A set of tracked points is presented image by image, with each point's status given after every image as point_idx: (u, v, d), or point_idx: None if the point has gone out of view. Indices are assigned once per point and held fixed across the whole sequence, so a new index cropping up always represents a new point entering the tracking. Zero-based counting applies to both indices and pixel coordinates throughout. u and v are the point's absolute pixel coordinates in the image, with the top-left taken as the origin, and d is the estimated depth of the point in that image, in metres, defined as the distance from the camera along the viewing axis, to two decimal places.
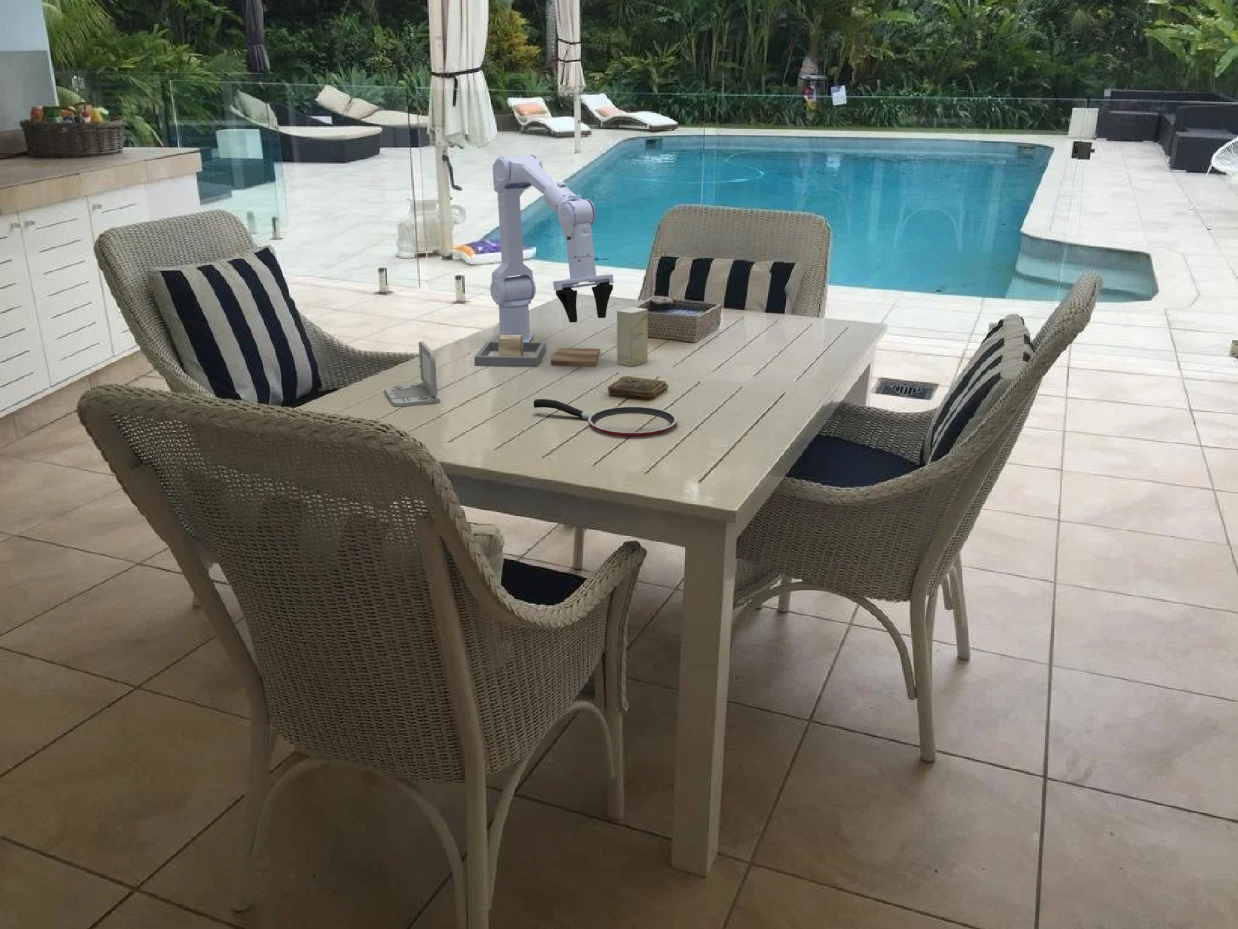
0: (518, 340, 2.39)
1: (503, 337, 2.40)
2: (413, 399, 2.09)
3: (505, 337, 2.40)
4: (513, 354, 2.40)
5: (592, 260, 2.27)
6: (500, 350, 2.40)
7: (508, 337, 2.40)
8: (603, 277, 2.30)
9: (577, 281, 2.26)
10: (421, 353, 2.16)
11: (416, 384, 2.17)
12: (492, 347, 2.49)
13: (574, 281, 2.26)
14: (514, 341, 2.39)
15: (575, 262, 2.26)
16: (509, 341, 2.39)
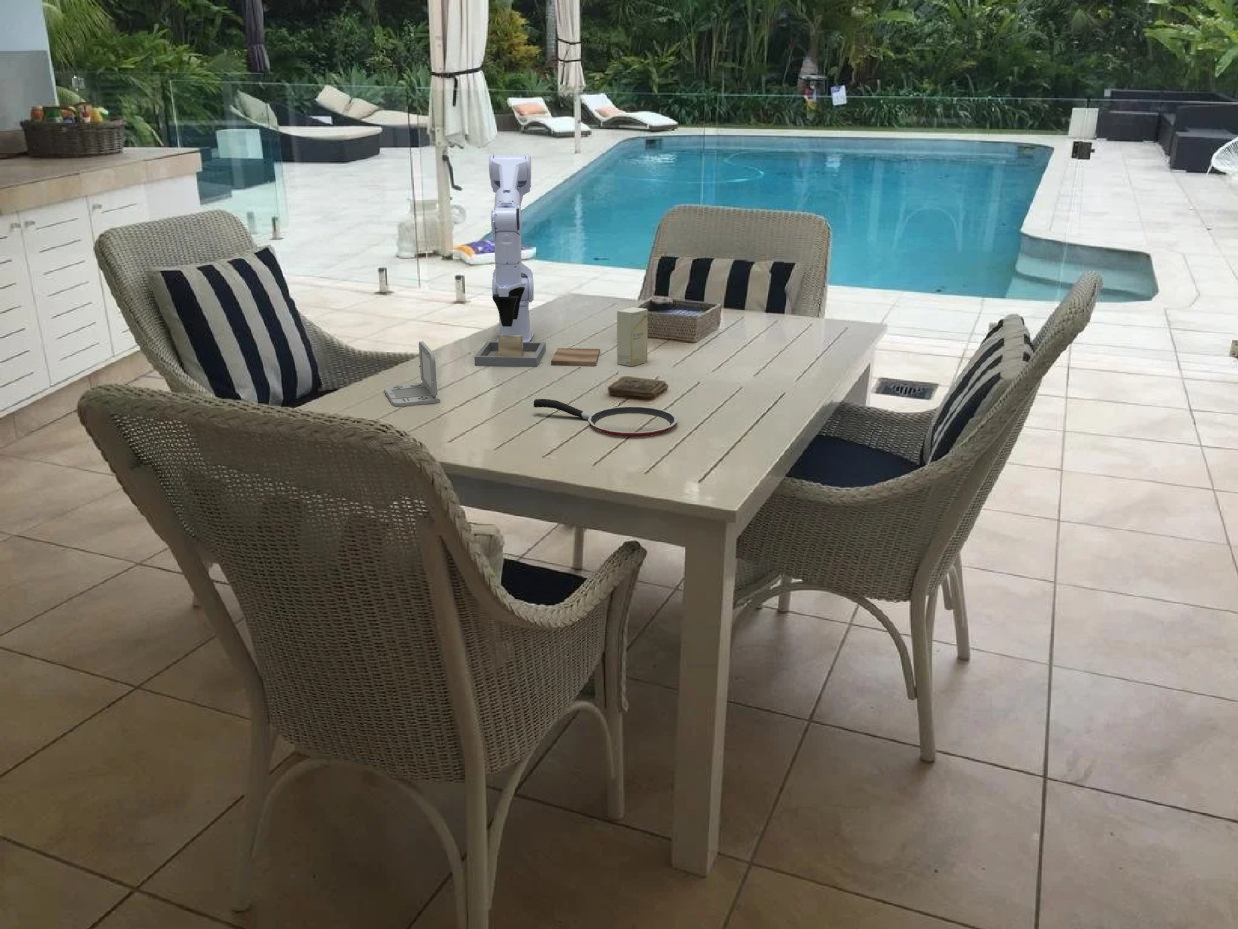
0: (518, 340, 2.39)
1: (503, 337, 2.40)
2: (413, 399, 2.09)
3: (505, 337, 2.40)
4: (513, 354, 2.40)
5: None
6: (500, 350, 2.40)
7: (508, 337, 2.40)
8: None
9: (515, 287, 2.34)
10: (421, 353, 2.16)
11: (416, 384, 2.17)
12: (492, 347, 2.49)
13: (514, 287, 2.33)
14: (514, 341, 2.39)
15: (512, 268, 2.33)
16: (509, 341, 2.39)
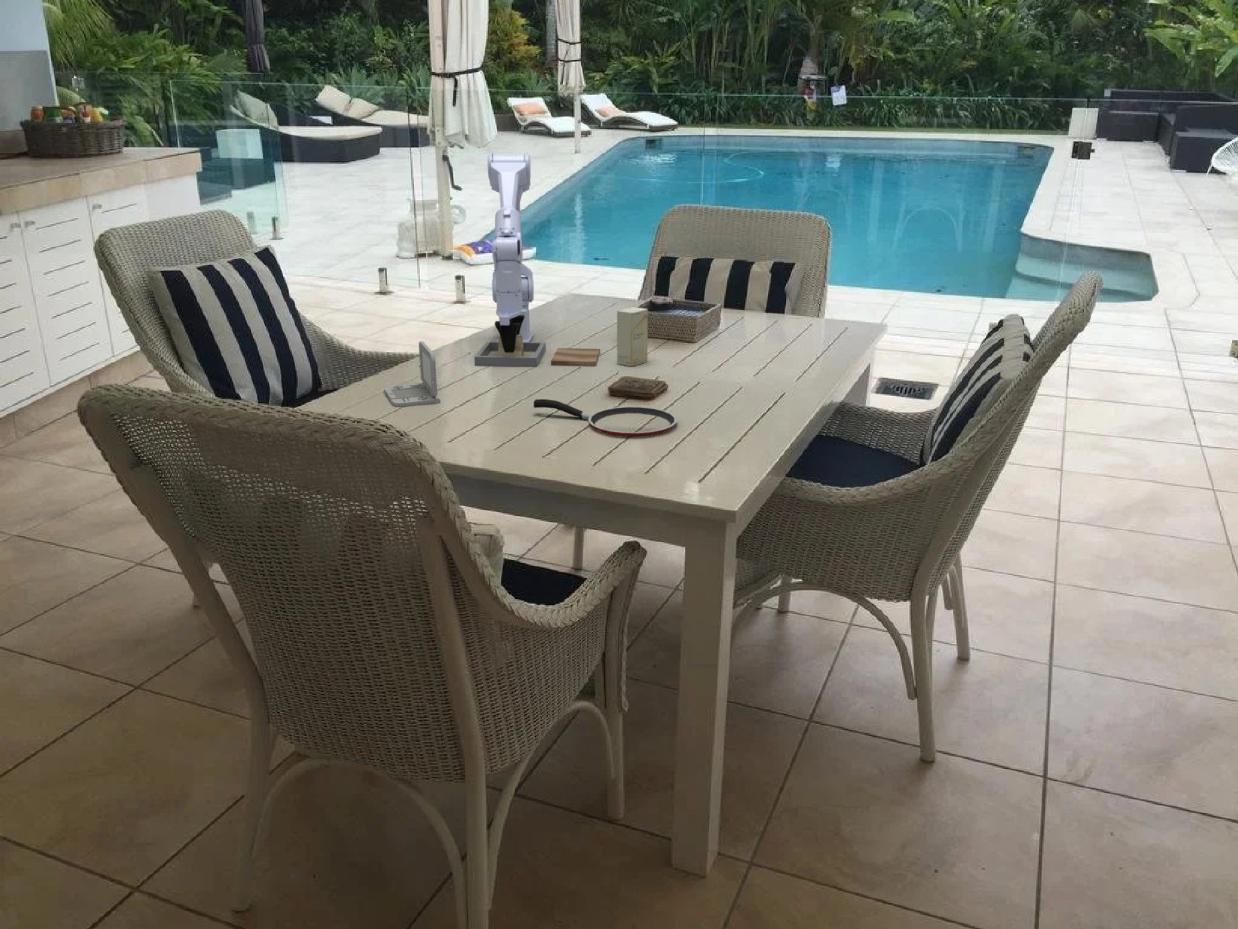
0: (518, 340, 2.39)
1: None
2: (413, 399, 2.09)
3: None
4: (513, 354, 2.40)
5: None
6: (500, 349, 2.40)
7: None
8: None
9: (516, 315, 2.36)
10: (421, 353, 2.16)
11: (416, 384, 2.17)
12: (492, 347, 2.49)
13: (515, 315, 2.35)
14: None
15: (513, 297, 2.35)
16: None
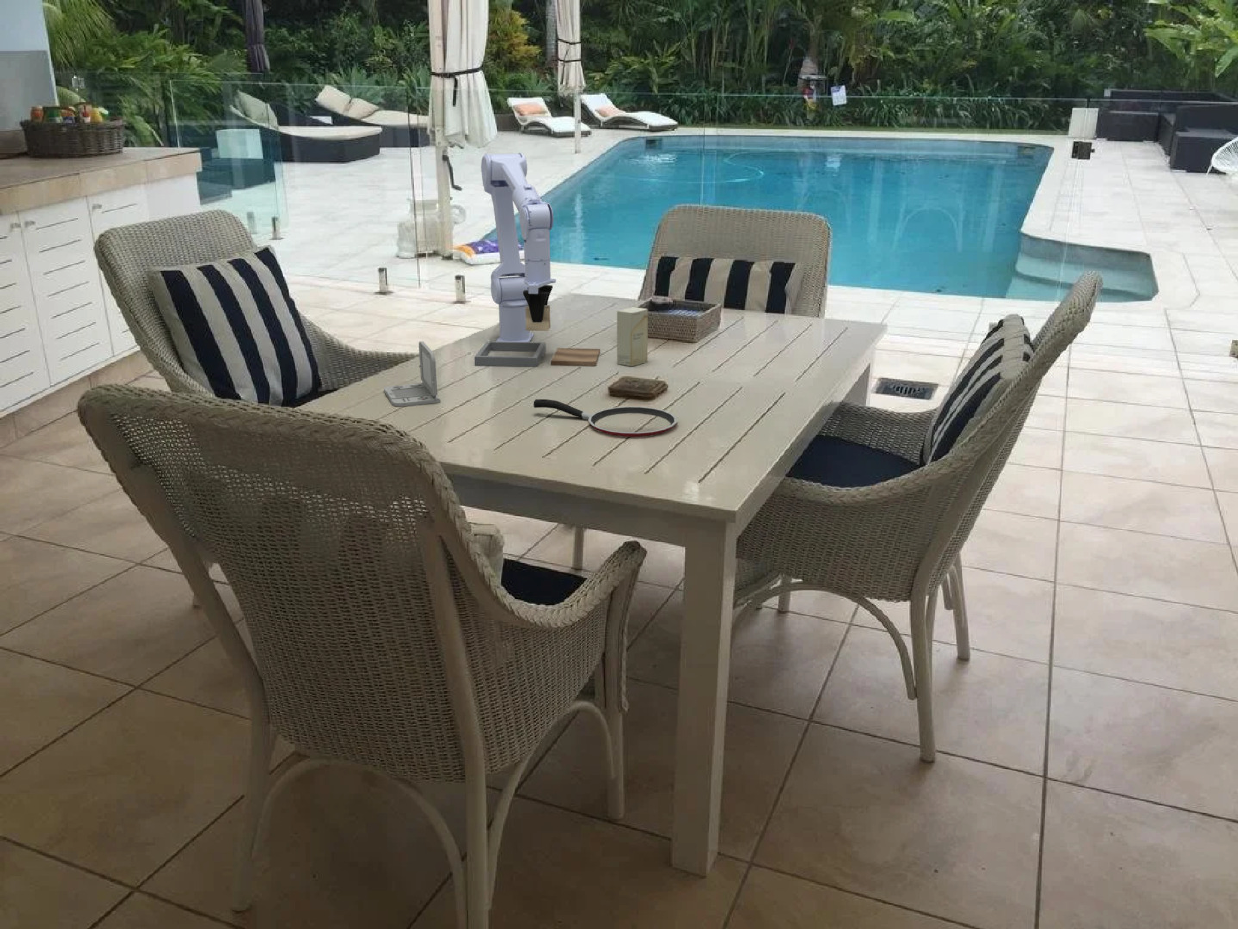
0: (545, 310, 2.36)
1: None
2: (413, 399, 2.09)
3: None
4: (540, 324, 2.37)
5: None
6: (527, 320, 2.37)
7: None
8: None
9: (545, 284, 2.33)
10: (421, 353, 2.16)
11: (416, 384, 2.17)
12: (492, 347, 2.49)
13: (543, 284, 2.32)
14: None
15: (541, 265, 2.32)
16: None
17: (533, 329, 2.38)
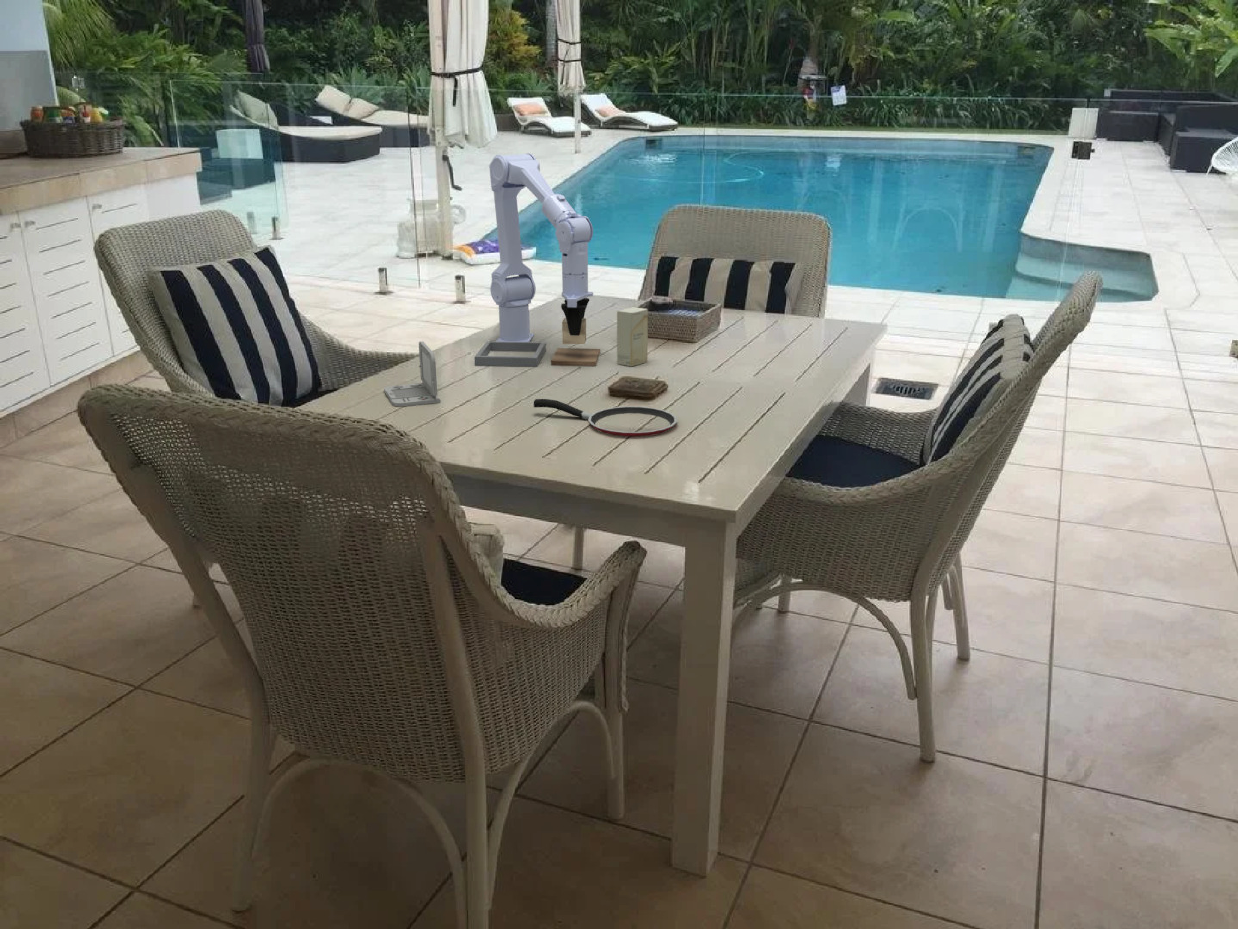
0: (582, 323, 2.37)
1: None
2: (413, 399, 2.09)
3: None
4: (577, 337, 2.38)
5: None
6: (564, 333, 2.38)
7: None
8: None
9: (583, 297, 2.34)
10: (421, 353, 2.16)
11: (416, 384, 2.17)
12: (492, 347, 2.49)
13: (582, 298, 2.33)
14: None
15: (579, 279, 2.33)
16: None
17: (570, 342, 2.38)
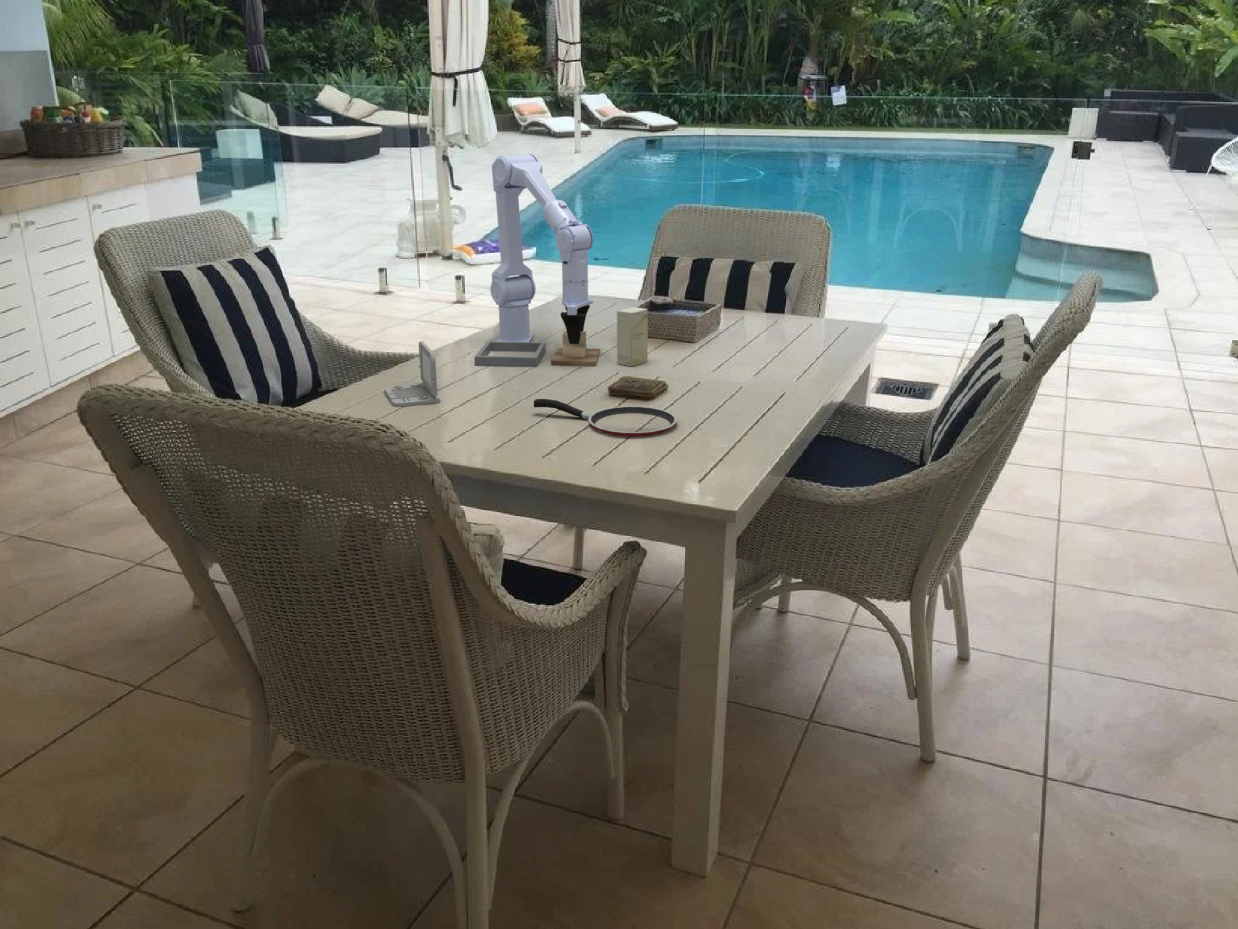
0: (582, 336, 2.38)
1: None
2: (413, 399, 2.09)
3: None
4: (577, 350, 2.39)
5: None
6: (564, 346, 2.39)
7: None
8: None
9: (583, 305, 2.34)
10: (421, 353, 2.16)
11: (416, 384, 2.17)
12: (492, 347, 2.49)
13: (582, 305, 2.34)
14: None
15: (579, 286, 2.33)
16: None
17: (570, 355, 2.39)
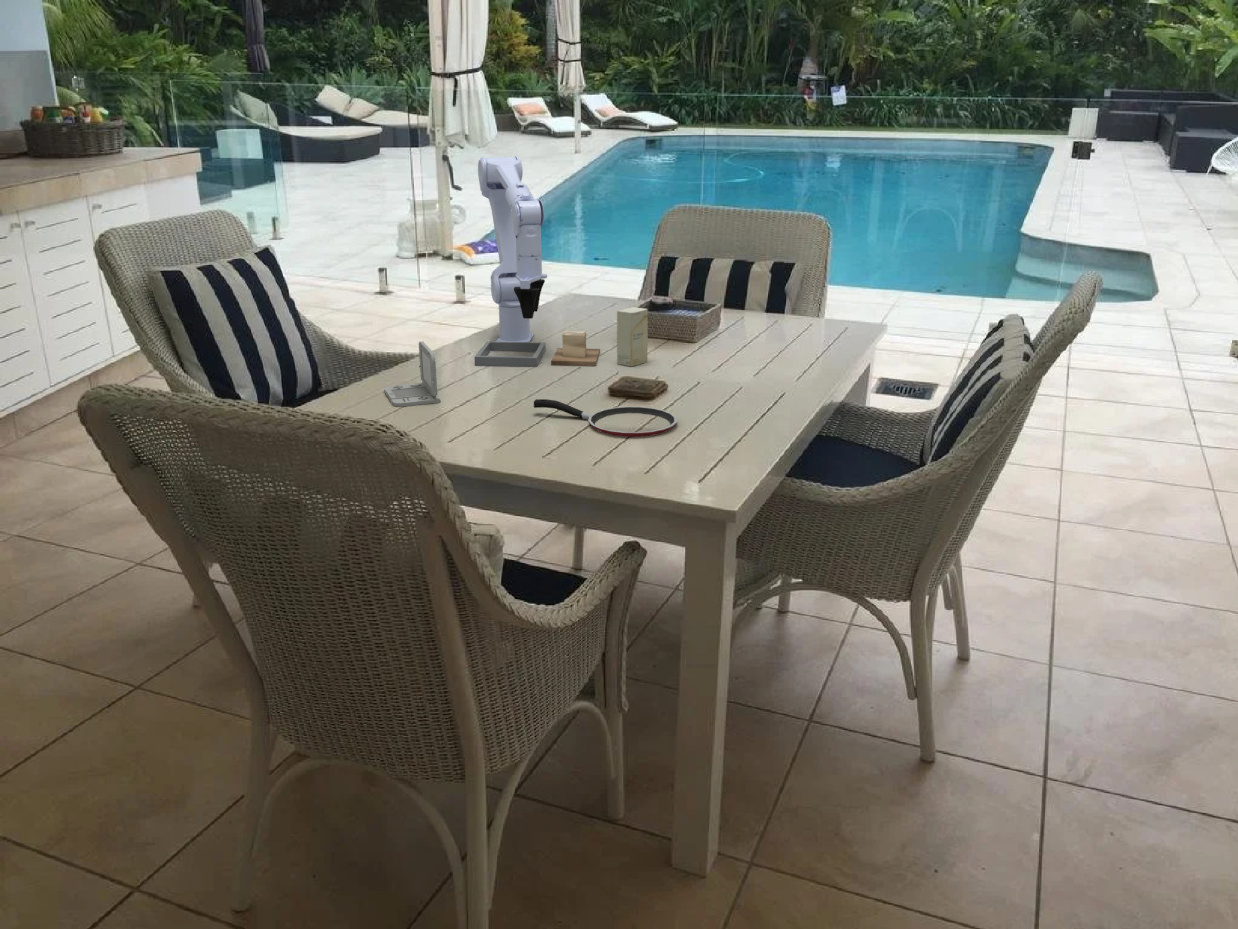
0: (582, 336, 2.38)
1: (567, 333, 2.39)
2: (413, 398, 2.09)
3: (569, 333, 2.39)
4: (577, 350, 2.39)
5: None
6: (564, 346, 2.39)
7: (572, 333, 2.39)
8: None
9: (536, 279, 2.36)
10: (421, 353, 2.16)
11: (416, 384, 2.17)
12: (492, 347, 2.49)
13: (535, 279, 2.36)
14: (578, 337, 2.38)
15: (533, 261, 2.36)
16: (573, 337, 2.38)
17: (570, 355, 2.39)
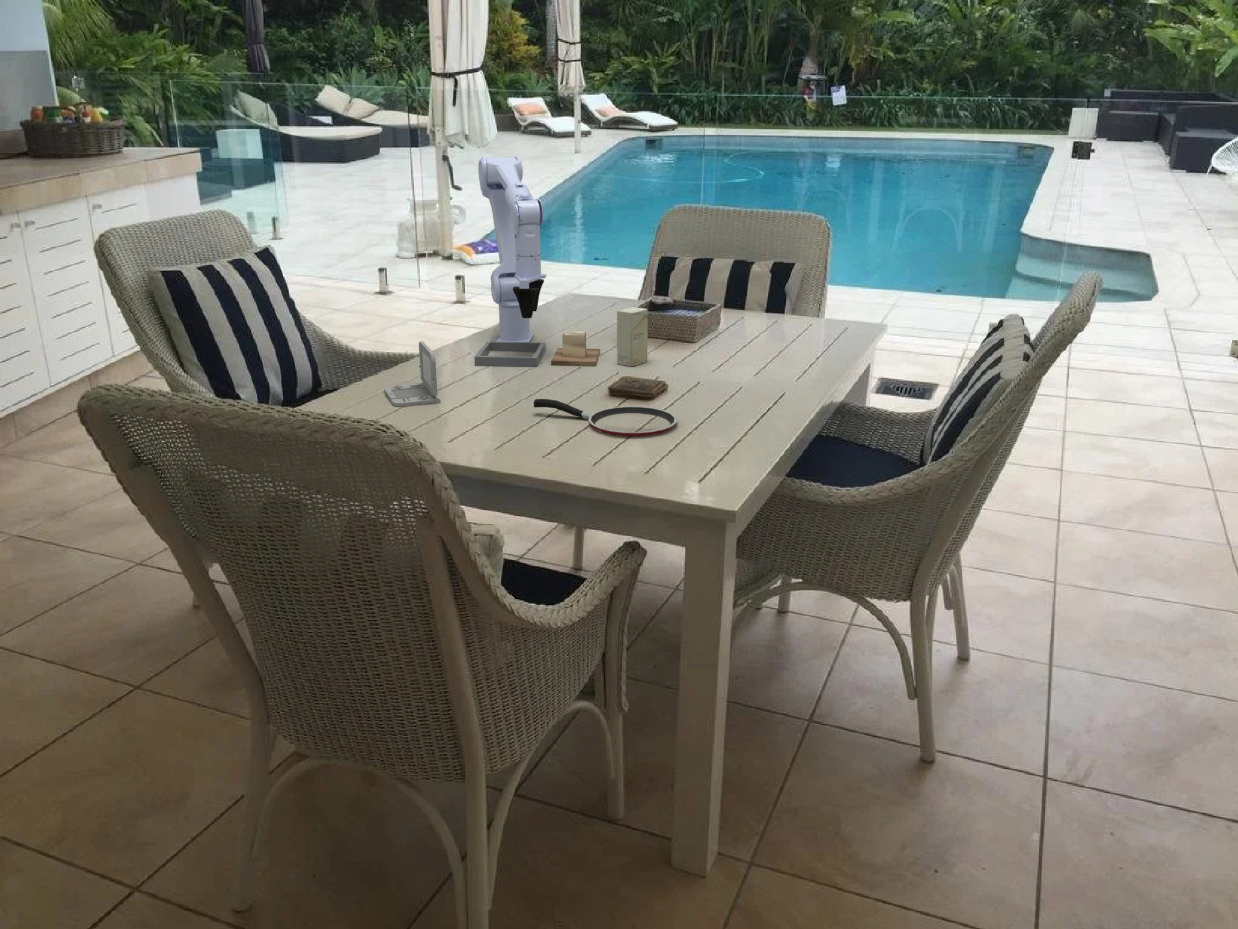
0: (582, 336, 2.38)
1: (567, 333, 2.39)
2: (413, 398, 2.09)
3: (569, 333, 2.39)
4: (577, 350, 2.39)
5: None
6: (564, 346, 2.39)
7: (572, 333, 2.39)
8: None
9: (535, 279, 2.36)
10: (421, 353, 2.16)
11: (416, 384, 2.17)
12: (492, 347, 2.49)
13: (534, 279, 2.36)
14: (578, 337, 2.38)
15: (532, 260, 2.36)
16: (573, 337, 2.38)
17: (570, 355, 2.39)
